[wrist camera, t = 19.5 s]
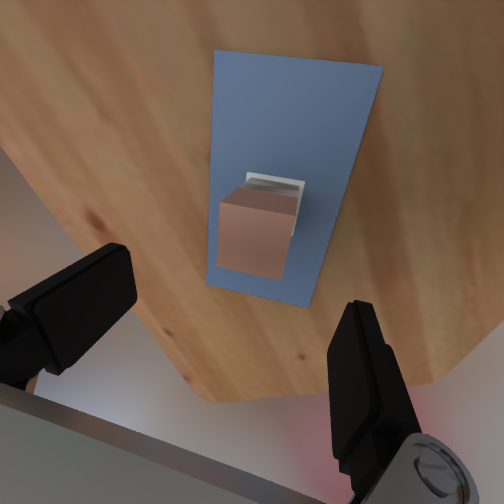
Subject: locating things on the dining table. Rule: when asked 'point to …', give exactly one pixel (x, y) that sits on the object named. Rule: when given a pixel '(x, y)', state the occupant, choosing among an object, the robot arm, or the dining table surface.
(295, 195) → the cream block
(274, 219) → the terracotta block
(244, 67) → the board
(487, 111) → the dining table surface
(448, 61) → the dining table surface
